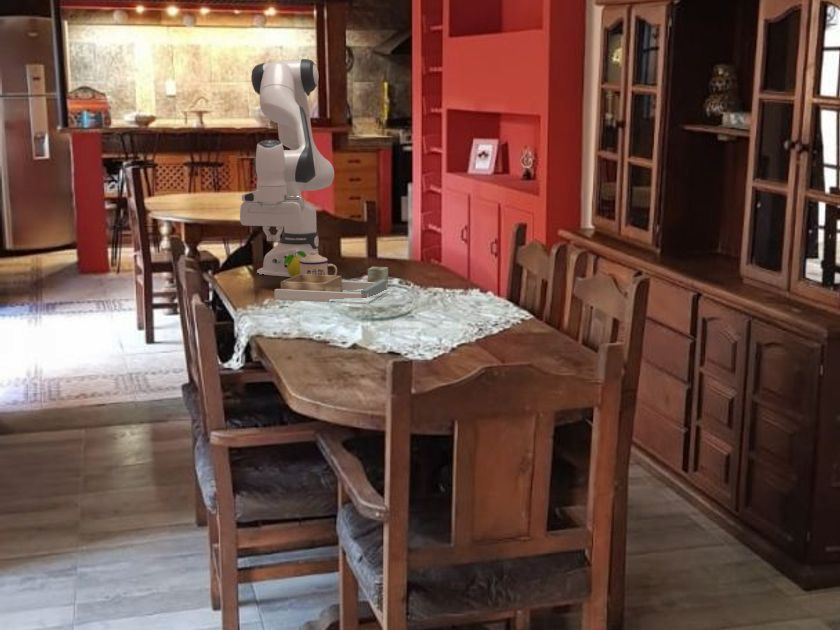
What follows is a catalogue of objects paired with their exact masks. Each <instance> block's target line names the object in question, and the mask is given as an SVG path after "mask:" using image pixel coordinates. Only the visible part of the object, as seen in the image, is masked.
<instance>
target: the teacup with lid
mask: <svg viewBox="0 0 840 630" xmlns="http://www.w3.org/2000/svg"><path fill="white" fill-rule="evenodd" d="M318 254H319V253H318ZM318 254H317V252H316V251H311V252H310V255H307V256H306V257H304V258H301V259H300V261H299V262H300V274H309V275H329V273H328V272H329V271H328V268H329V267H333V268H334V272H333V274H332V276H337V273H338V267H337V266H336V265H335V264H333V263H328V262H329V260H328V258H327V257H325V256H322V255H320V254H319V255H318Z"/></svg>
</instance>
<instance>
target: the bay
mask: <svg viewBox="0 0 840 630" xmlns="http://www.w3.org/2000/svg"><path fill="white" fill-rule="evenodd" d="M388 287H389V282H388V283H387V280H384V279H382V280H380V281H378V282H368V281H353V280H350V281H349V280H342V292H331V291H310V290H289V289H281V288H276V289H275V288H274V300H285V301H306V302H325V303H330V302H329V300H330V299H344V298H367V297H370V296H373V295H376V294H378V293H380V292H382V291H384V290H387V289H388ZM357 289H363V290H361V292H353V291H343V290H357Z"/></svg>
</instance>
